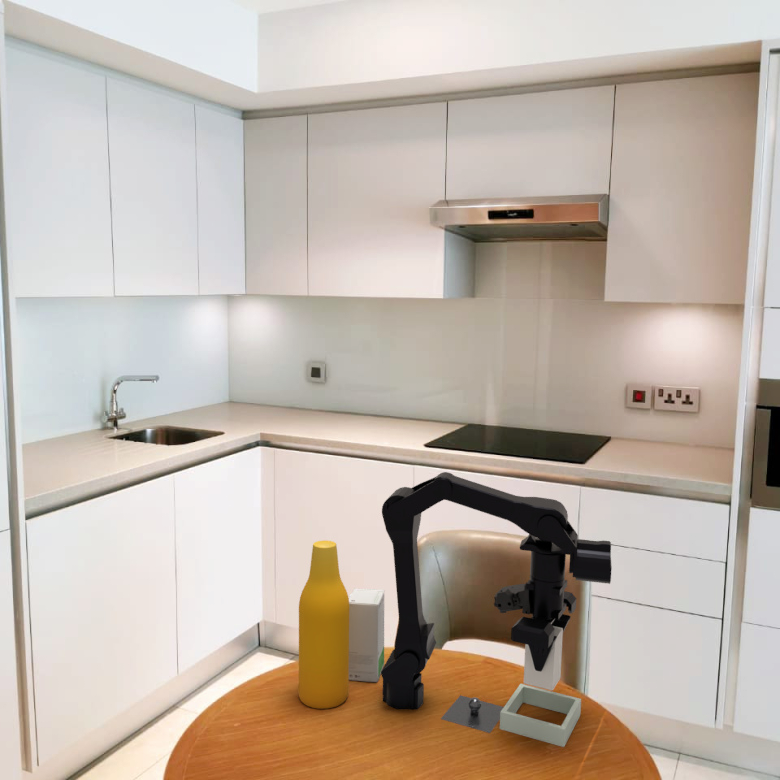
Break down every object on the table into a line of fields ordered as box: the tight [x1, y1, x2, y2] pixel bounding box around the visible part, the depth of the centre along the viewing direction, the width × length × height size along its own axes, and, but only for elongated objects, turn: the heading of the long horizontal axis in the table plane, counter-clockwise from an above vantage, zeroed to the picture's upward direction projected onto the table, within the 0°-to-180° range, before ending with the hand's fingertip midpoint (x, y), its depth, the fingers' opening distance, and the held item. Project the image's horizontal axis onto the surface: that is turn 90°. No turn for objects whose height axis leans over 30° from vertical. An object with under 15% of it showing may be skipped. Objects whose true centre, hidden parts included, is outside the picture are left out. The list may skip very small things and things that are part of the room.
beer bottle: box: [297, 540, 350, 710], centre depth 142 cm, size 9×9×29 cm
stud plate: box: [440, 695, 504, 734], centre depth 138 cm, size 9×9×4 cm
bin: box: [499, 683, 582, 748], centre depth 135 cm, size 11×11×4 cm
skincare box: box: [348, 587, 385, 683], centre depth 153 cm, size 8×7×16 cm
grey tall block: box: [523, 626, 564, 692], centre depth 134 cm, size 5×5×9 cm
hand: (543, 664), depth 134 cm, fingers closed on grey tall block, 5 cm apart
